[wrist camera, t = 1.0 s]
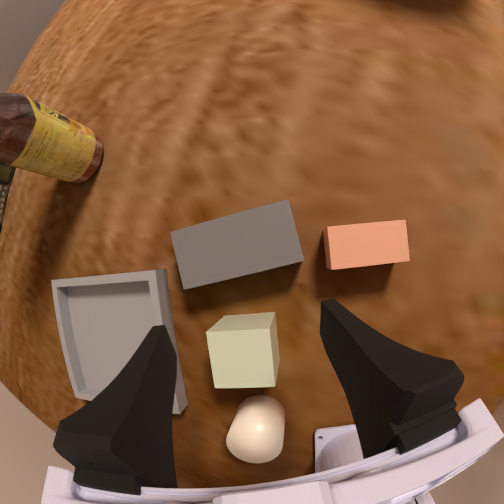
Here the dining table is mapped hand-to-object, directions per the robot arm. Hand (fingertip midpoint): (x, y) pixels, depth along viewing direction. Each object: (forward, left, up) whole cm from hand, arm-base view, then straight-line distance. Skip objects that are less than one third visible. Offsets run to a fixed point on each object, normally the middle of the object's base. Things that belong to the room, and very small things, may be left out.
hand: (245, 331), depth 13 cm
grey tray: (-4, +16, -12) cm, 20 cm away
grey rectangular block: (+4, +2, -12) cm, 13 cm away
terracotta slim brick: (+3, -8, -12) cm, 15 cm away
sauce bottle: (+16, +19, -12) cm, 28 cm away
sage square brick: (-4, +2, -12) cm, 13 cm away
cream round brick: (-12, +2, -12) cm, 17 cm away
